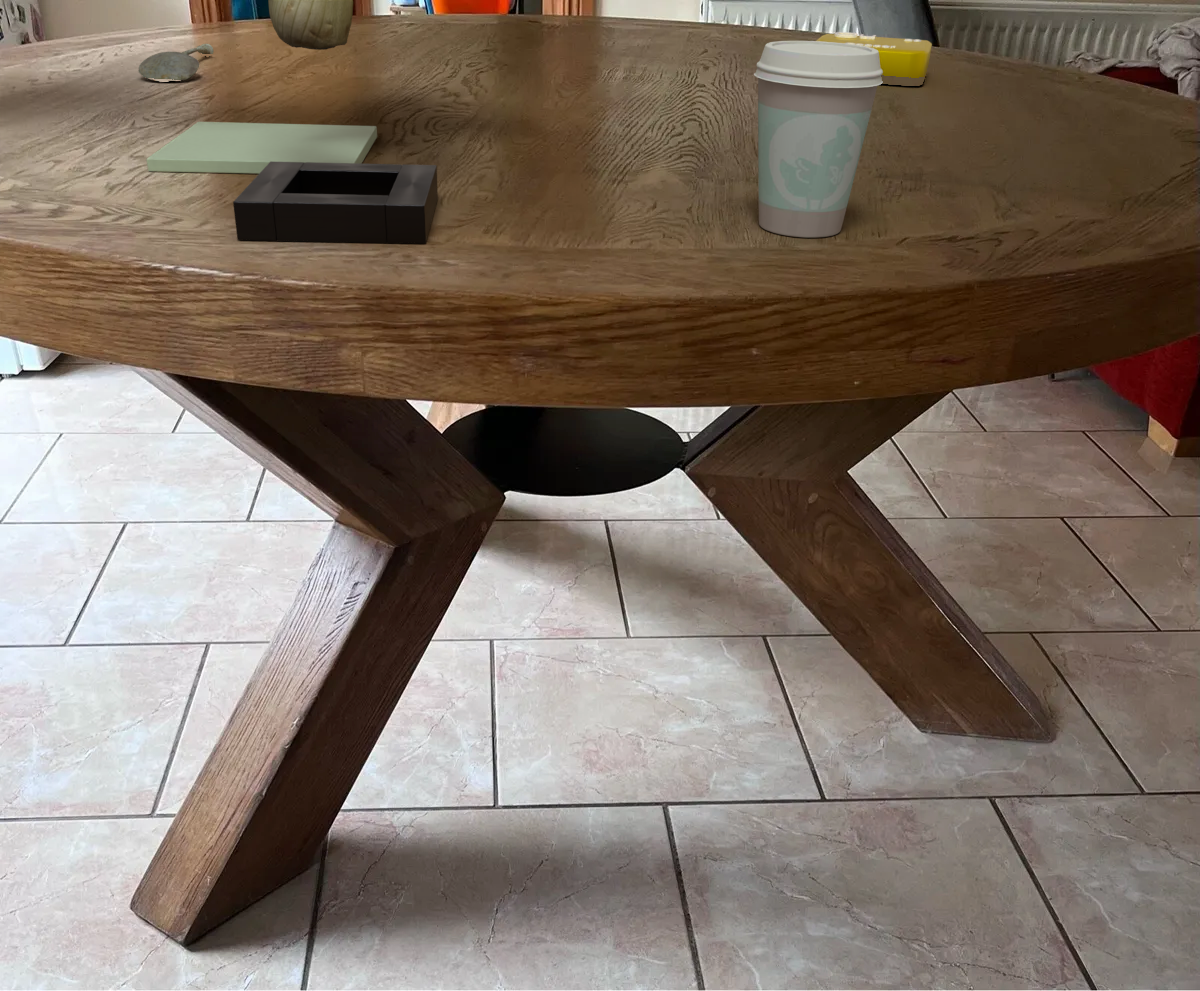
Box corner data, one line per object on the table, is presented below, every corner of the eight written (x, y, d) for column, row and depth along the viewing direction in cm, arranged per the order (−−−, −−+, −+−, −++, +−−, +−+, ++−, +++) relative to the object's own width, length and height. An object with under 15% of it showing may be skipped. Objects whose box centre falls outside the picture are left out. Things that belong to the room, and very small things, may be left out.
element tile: (805, 79, 147) (809, 40, 144) (819, 65, 159) (823, 29, 157) (922, 88, 143) (929, 48, 141) (927, 73, 156) (933, 36, 153)
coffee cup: (730, 235, 77) (747, 49, 71) (749, 207, 84) (766, 36, 79) (856, 249, 75) (884, 59, 70) (864, 219, 83) (890, 44, 77)
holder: (237, 240, 72) (232, 201, 71) (273, 195, 82) (269, 161, 81) (425, 244, 73) (424, 205, 72) (437, 199, 83) (436, 165, 82)
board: (147, 171, 88) (145, 158, 87) (199, 132, 102) (197, 121, 101) (354, 176, 89) (353, 163, 88) (377, 137, 103) (376, 126, 102)
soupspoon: (132, 88, 126) (192, 92, 126) (128, 56, 124) (189, 61, 125) (182, 55, 145) (234, 59, 145) (179, 27, 143) (232, 31, 144)
